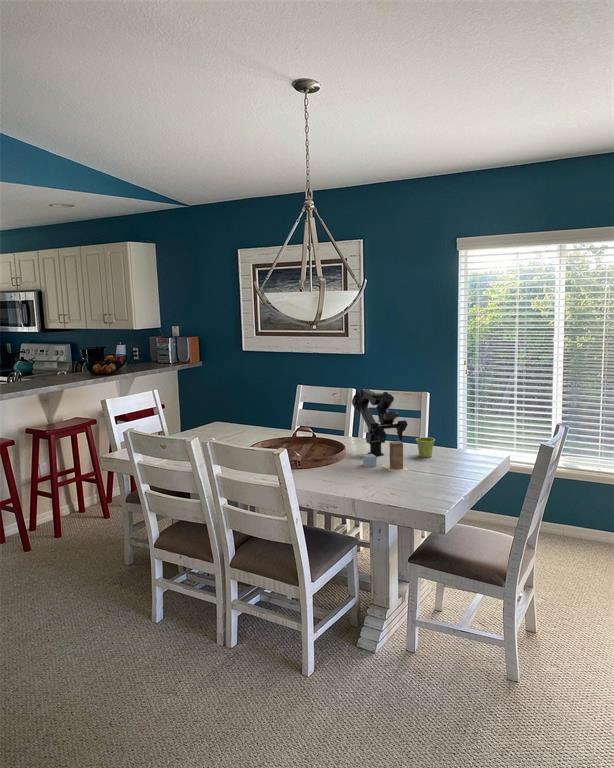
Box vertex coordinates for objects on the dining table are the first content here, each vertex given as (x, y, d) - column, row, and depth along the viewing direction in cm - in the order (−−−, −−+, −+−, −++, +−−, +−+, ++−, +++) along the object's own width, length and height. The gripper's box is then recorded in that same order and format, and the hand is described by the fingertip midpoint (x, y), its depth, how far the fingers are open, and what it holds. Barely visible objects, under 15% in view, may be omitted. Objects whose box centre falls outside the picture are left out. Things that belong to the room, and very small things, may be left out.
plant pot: (426, 459, 290) (426, 442, 289) (412, 456, 297) (411, 439, 296) (438, 456, 296) (438, 439, 295) (424, 452, 303) (423, 436, 302)
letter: (381, 465, 283) (381, 464, 283) (398, 463, 285) (398, 462, 285) (390, 471, 272) (390, 471, 272) (408, 469, 274) (408, 469, 274)
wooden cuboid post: (389, 466, 279) (389, 441, 278) (399, 465, 280) (399, 441, 279) (393, 469, 275) (393, 444, 273) (403, 468, 276) (402, 443, 274)
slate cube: (363, 465, 285) (362, 454, 284) (372, 464, 286) (372, 454, 285) (366, 467, 280) (366, 457, 279) (376, 466, 281) (376, 456, 280)
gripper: (369, 406, 282) (377, 433, 272) (405, 403, 286) (415, 430, 277) (364, 419, 290) (372, 446, 281) (399, 417, 294) (408, 443, 285)
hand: (392, 441), depth 281 cm, fingers open, 9 cm apart
